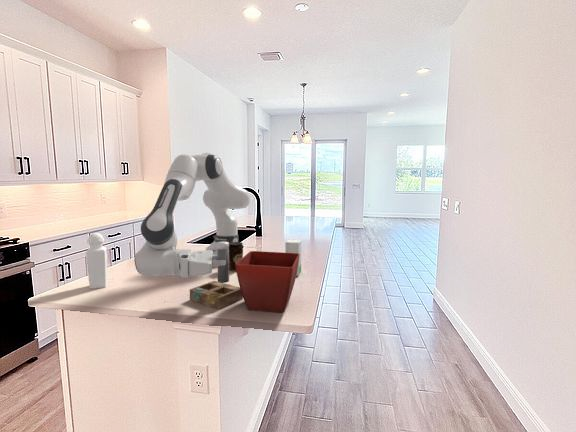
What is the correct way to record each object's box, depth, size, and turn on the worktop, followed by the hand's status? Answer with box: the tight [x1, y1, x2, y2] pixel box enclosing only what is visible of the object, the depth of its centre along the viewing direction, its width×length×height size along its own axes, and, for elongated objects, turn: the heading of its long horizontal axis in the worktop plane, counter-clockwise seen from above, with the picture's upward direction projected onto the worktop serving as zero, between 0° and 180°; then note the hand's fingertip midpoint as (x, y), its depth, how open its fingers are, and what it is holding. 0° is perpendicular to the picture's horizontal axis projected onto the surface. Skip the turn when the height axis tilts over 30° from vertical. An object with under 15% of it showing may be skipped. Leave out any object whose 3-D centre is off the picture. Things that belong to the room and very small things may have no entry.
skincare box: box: [284, 239, 302, 277], centre depth 150 cm, size 8×7×16 cm
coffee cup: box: [229, 241, 244, 272], centre depth 157 cm, size 9×8×13 cm
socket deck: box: [189, 280, 244, 310], centre depth 119 cm, size 15×12×4 cm
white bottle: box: [85, 232, 108, 290], centre depth 131 cm, size 6×6×22 cm
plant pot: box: [235, 250, 300, 313], centre depth 113 cm, size 19×19×17 cm
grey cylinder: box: [217, 242, 230, 284], centre depth 115 cm, size 4×4×14 cm
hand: (225, 260), depth 115 cm, fingers closed on grey cylinder, 4 cm apart
